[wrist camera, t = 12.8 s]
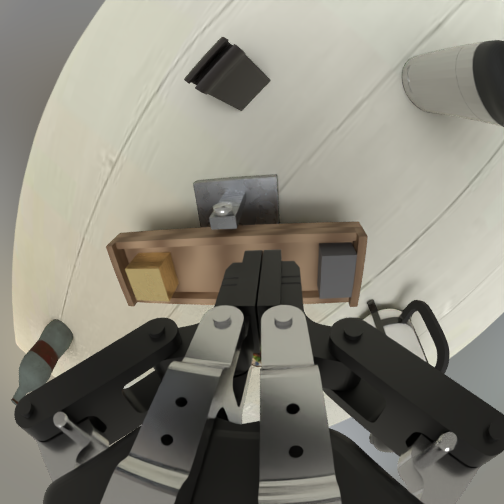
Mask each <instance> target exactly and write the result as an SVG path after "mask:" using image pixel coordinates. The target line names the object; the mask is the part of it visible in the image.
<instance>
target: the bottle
mask: <svg viewBox="0 0 504 504" xmlns="http://www.w3.org/2000/svg"><path fill="white" fill-rule="evenodd" d="M72 338H73V335H72V332H71V331H70V329H69V328H68V327H67V326H66V325H65V324H64V323H63V322H61V321H59V320H56V319H55V320H53V321H51V322H50V323H49V324H48V325H47V326H46V327H45V329H44V331H43V332H42V334H41V336H40V338H39V340H38V341H37V342H36V344H35V345H34V346H33V347H32V348H31V349H30V351H29V352H28V353H27V354H26V355H25V356H24V358H23V360H22V362H21V364H20V367H19V388H18V389H17V391H16V393H15V395H14V396H13V398H12V399H11V401H12V402H13V403H14V404H15V405H16V406H17V404H18V402H19V401H20V399H22V398H23V397H24V396H25V395H26V393H28V392H31V391H34V390H36V389H37V388H39V387H41V386H42V385H44V384H45V383H46V382H47V380H48V379H49V378H50V375H51V373H52V371H53V369H54V367H55V365H56V363H57V361H58V359H59V358H60V357H61V356H62V355H63V354H64V352H65V351H66V350H67V349H68V348H69V346H70V344H71V342H72Z"/></svg>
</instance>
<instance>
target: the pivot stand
mask: <svg viewBox="0 0 504 504" xmlns="http://www.w3.org/2000/svg"><path fill="white" fill-rule="evenodd" d="M193 185H194V191H195V197H196V203H197V209H198V214H199V220H200V225H201V227H211V230H216V229H236V228H237V227H238V226H239V225H262V224H279V206H278V190H277V175H261V176H246V177H232V178H221V179H210V180H200V181H195V182H194V183H193Z"/></svg>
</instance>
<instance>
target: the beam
mask: <svg viewBox="0 0 504 504" xmlns="http://www.w3.org/2000/svg"><path fill="white" fill-rule="evenodd" d="M367 237H368V236H367V235H366V233H365V231H364V230H363V228H362V226H361V225H360V223H359V222H322V223H288V224H262V225H239V226H238V227H237V228H236V229H216V230H211V227H201V228H184V229H168V230H154V231H140V232H127V233H120V234H119V235H117V236H116V237H115V238H114V239H113V240H112V241H111V242H110V243H109V244H108V245H107V246H106V248H107V251H108V254H109V257H110V260H111V262H112V265H113V268H114V270H115V273H116V276H117V278H118V281H119V283H120V286H121V288H122V291H123V293H124V296H125V298H126V300H127V303H128V305H129V306H135V304H136V303H137V302H145V303H167V304H200V305H215V303H216V300H217V296H218V293H219V290H220V287H221V283H222V280H223V277H224V274H225V271H226V269H227V268H228V267H229V266H230V265H231V264H232V263H237V262H242V261H243V257H244V252H245V251H248V250H263V251H264V250H276V249H281V257H282V261H295V262H296V264H297V265H298V266H299V267H300V275H301V285H302V297H303V304H316V303H338V302H349V305H350V307H356V306H357V305H358V300H359V294H360V288H361V282H362V276H363V269H364V262H365V254H366V246H367ZM344 242H351V243H352V245H353V247H354V249H355V252H356V254H357V259H356V268H355V275H354V282H353V289H352V296H351V297H349V298H329V299H319V292H318V286H317V279H318V256H319V243H344ZM155 252H170V253H171V257H172V261H173V264H174V268H175V272H176V275H177V279H178V282H179V284H178V286H177V288H176V290H175V292H174V294H173V296H172V298H171V300H170V302H167V301H143V300H137V299H136V297H135V294H134V292H133V289H132V287H131V284H130V281H129V279H128V276H127V273H126V271H125V268H126V267H127V266H128V265H129V263H130V262H131V261H132V260H133V259H134V257H135V256H136V255H137V254H138V253H155Z"/></svg>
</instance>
